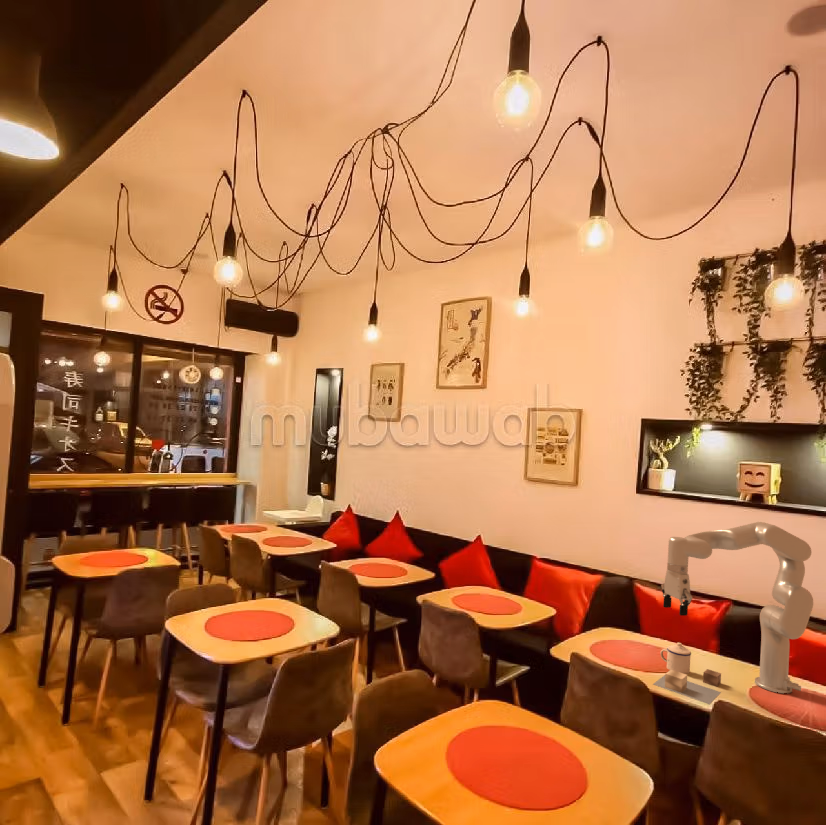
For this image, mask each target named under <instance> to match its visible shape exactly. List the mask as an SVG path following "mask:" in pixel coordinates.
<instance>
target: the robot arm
mask: <svg viewBox="0 0 826 825" xmlns="http://www.w3.org/2000/svg"><path fill="white" fill-rule="evenodd" d="M759 545H765V546H768V547H769V548H772V550H773V552H774V553H775V555H776V556H777V558H778V562H779V568H778V572H777V575H776V578H775V581H774V584H773V587H772V589H771V596H772V598H773V599H774V601H776V602H777V603H779V604H781V605H782V606H784V607H781V606H779V605H775V604H769V605H768V604H767V605H765V606H764V607H762V609H761V611H760V613H759V622H760V623H759V624H760V631H761V634H760V635H761V636H760V637H761V638H760V639H761V641H760V658H759V659H760V661H759V676H757V677H755V678H754V684H755V685H757V686H759V688H762V689H764V690H766V691H770V692H773V693H777V692H778V694H784V693H787V694H791V693H792V692H793V690H796V691H798V692H801V690H802V686H801V685H799V683H796V682H792V680H791V677H790V676H789V667H790V665H789V662H790V647H791V646H790V645H791V644H790V640H797V639H799V638H801V637H802V636H803V634H804V633H805V631H806V628H807V626H808V623H809V620H810V617H811V613H812V611H813V608H814V598H813V595H812V593H811V592H810V591H809V590H808V589H806V588H805V587H803V586H802V584H803V581H804V578H805V573H806V567H805V563H804V562H805V561H807V560H809V559H810V557H811V555H812V548H811V546H810V544H809V543H808V542H806V541H805V540H804V539H802V538H800V537H797V536H796V535H794V534H793V533H790V532H789V531H786V530H785V529H783V528H781V527H779V526H777V525H774V524H771V523H766V522H762V521H757V522H751V523H748V524H743V525H739V526H736V527H732V528H726V529H717V530H709V531H701V532H697V533H693V534H689V535H686V536H684V537H680V536H671V537H670V538H668V545H667V546H668V547H667V548H668V549H667V550H668V552H667V563H666V564H667V567H666V573H665V577H664V583H661V584H660V586H661V593H662V597H663V605H662V606H663V608H667V609H668V608H672V598H675V599H677V600H679V603H680V605H679V616H684V617H686V616H688V610H689V606H690V604H692V603H691V602H692V600H693V596H692V594H691V584H690V583H691V581H690V575H689V574H688V572H689V558H690V557H691V558H694V559H699V560H705V559H708V558H709V557H711V555H712V554H713V550H726V551H738V550H743V549H746V548H751V547H755V546H759Z"/></svg>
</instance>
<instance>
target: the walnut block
mask: <svg viewBox="0 0 826 825" xmlns="http://www.w3.org/2000/svg"><path fill="white" fill-rule="evenodd" d="M702 673H703V676H702V683H704V684H707V685H709V686H713V687H715V688H717V687H718V688H719V685H721V683H722V682H721V681H722V673H721V672H718V671H714V670H711V669H706V670H704V671H703V672H702Z"/></svg>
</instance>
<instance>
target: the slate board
mask: <svg viewBox="0 0 826 825" xmlns="http://www.w3.org/2000/svg"><path fill="white" fill-rule="evenodd" d="M652 686H657V687H660V688H662V689H664V690H667V691H670V692H673V693H676V694H679V695H682V696H684V697H686V698H690V699H693V700H696V701H699V702H702V703H704V704H707V705H710V704H711V703H713V701H714V700H716V698H717V697H718V696H719V695H720V694H721V693H722V691H719V690H715V689H713V688H711V687H706V686H703V685H701V684H698V683H695V682H691V681H689V680H687V688H686V689H685V690H684V691H683V692H682V693H681V692H678V691H675V690H672V689H669V688H666V687H665V674H664V675H663V676H662V677H660V678H659V679H658V680H657V681H655V682H654V683H653V684H652Z"/></svg>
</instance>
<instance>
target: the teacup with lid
mask: <svg viewBox="0 0 826 825" xmlns="http://www.w3.org/2000/svg"><path fill="white" fill-rule="evenodd" d="M664 652H666V653H667V654H666V655H667V656H666V658H665V656H664ZM659 653H660V658H661V659H662V660H663V661H664V662H665V663H666V669H667V670H668V671H670V670H674V671H677V672H680V673H683V674H686V675H688V674H690V671H691V670H690V669H691V657H692V656H691V655H692V651H691V650H690V649H689V648H688V647H685V646H684V645H683V644H682V643H681V642H677V643H676V644H670V645H668V646H667V648H663V649H661V650H660V652H659Z"/></svg>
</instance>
